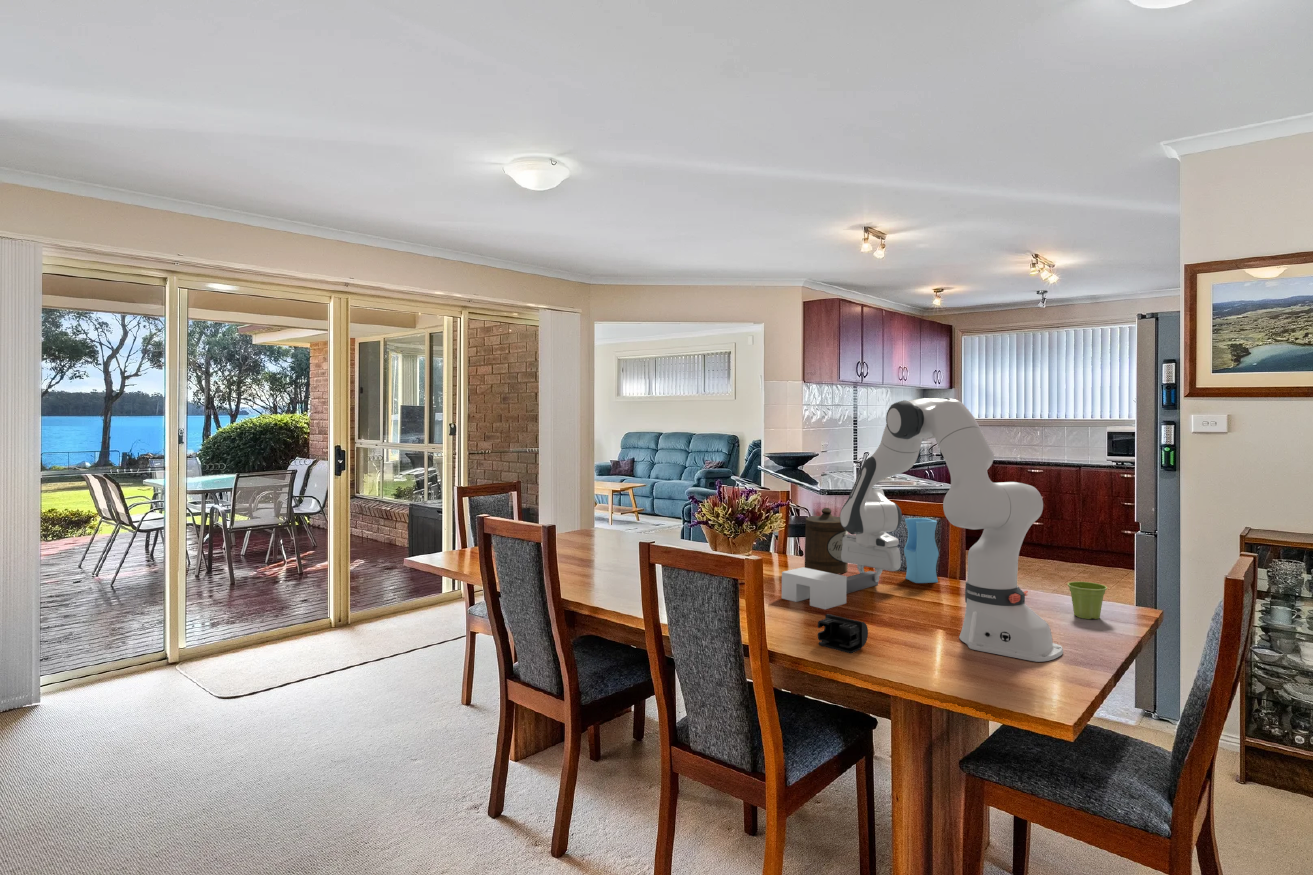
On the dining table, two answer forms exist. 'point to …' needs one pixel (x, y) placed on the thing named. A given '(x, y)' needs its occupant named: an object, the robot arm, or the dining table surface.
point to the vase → (921, 550)
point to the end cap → (842, 633)
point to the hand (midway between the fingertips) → (869, 580)
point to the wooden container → (824, 543)
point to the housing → (814, 587)
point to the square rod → (860, 581)
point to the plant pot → (1087, 599)
